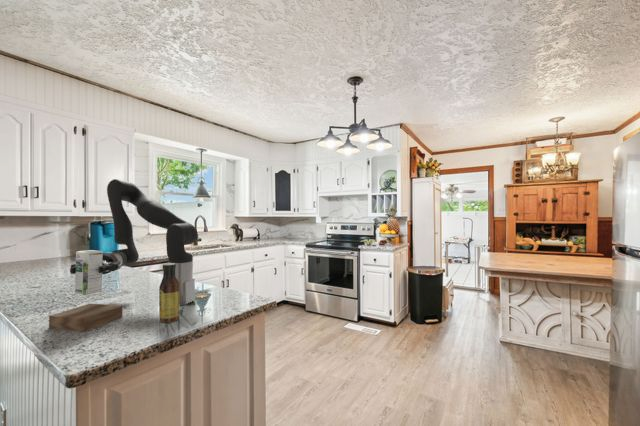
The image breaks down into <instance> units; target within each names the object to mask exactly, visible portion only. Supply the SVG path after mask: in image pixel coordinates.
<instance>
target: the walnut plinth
mask: <svg viewBox="0 0 640 426" xmlns="http://www.w3.org/2000/svg"><path fill="white" fill-rule="evenodd" d="M120 318H123V305H120V304H119V305H117V304H100V303H88V304H83V305H80V306H77V307H74V308H71V309H67V310H64V311H61V312H57V313H54V314H51V315H49V316H48V329H51V328H52V329H53V330H61V331H62V330H63V331H75V332H76V331H77V332H87V331H90V330H92V329H96V328H98V327H100V326H103V325H105V324H108V323H110V322H113V321H115V320H118V319H120Z"/></svg>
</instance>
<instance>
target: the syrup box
mask: <svg viewBox="0 0 640 426" xmlns="http://www.w3.org/2000/svg"><path fill="white" fill-rule="evenodd" d="M103 254H104V252H103V250H93V249H89V250H88V249H86V250H85V249H84V250H78V251H77V250H76V251H75V264H76V269H75V274H74V277H75V278H74V294H76V295H77V294H78V295H82V296H87V295H91V294H96V293H100V292H101V293H102V291H103V274H102V273H99V267H100V266H102V255H103Z"/></svg>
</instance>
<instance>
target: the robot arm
mask: <svg viewBox="0 0 640 426" xmlns="http://www.w3.org/2000/svg"><path fill="white" fill-rule="evenodd" d="M106 193H107V194H106V195H107V198H108V199H107V200H108V203H109V207H110V208H109V209H110V211H111V215H112V221H113V232H114V233H113V234H114V243H115V244H116V245H123V246H124V245H125V246H126V248H122V249H117V250H113V251H111V252H106V253H103V255H102V266H100V267H99V273H102V275H107V274H109V273H112V272H115V271H118V270H120V269H121V268H122V267H123V266H125V265H131V264H133V265H134V264H135V263H137V262H138V260H139V252H138V249H137V247H136V245H135V241H134V236H133V235H134V234H133V233H134V232H133V231H134V230H133V224H132V221H131V219H130V218H129V216H128V214H127V213H126V210H125V208H124V206H123V202H127V203H129V204H132V205H133V206H135V207H136V212H137V214H138V215H139V216H140V218H142V219H143V220H144V221H146V222H148V223H149V224H151V225H153V226H156V227H159V228H162V229H165V230H166V235H165V239H166V240H165V241H166V242H165V243H166V245H165V246H166V255H167V258H168V263H175V264H176V268H175V277H176V279H177V280H178V282H179V306H187V305H188V303H189V304H191V303H193V302H195V299H196V298H195V297H196V296H195V292H196V291H195V287H196V286H195V285H196V283H195V278H193V276H194V275H193V271H194V270H193V267H194V266H193V265H194V262H193V261H194V258H193V257H194V255H193V254H192V253H189V252H187V251H186V250H185V246H188V245H192V244H194V243H195V242H196V241H197V240H198V237H199V233H198V230H197V228H196V227H195V226H194V225H193V224H192V223H191V222H188V221H186V220H185V219H182V218H181V217H179V216H178V215H176V214H174V213H173V212H171V211H170V210H169V209H168V208H166V207H165V206H163V205H162V204H160V203H159V202H158V201H156V200H155V199H153V198H152V197H150V196H149V195H147V194H145V192H143V190H141V188H139V187H138V186H137V185H136V184H134V183H133V182H130V181H126V180H122V179H119V178H118V179H116V178H115V179H112V180H110V181H109V182H108V184H107V186H106ZM75 269H76V263H74V264H70V268H69V273H70V275H75ZM192 301H193V302H192ZM190 302H191V303H190ZM186 304H187V305H186Z"/></svg>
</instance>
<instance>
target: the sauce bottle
mask: <svg viewBox="0 0 640 426" xmlns="http://www.w3.org/2000/svg"><path fill="white" fill-rule="evenodd" d="M175 268H176V264H175V263H169V262H167V263H163V264H162V269H163V270H162V272H163V275H162V279H161V282H160V285H159V286H158V287H159V288H158V291H159V292H158V294H159V296H158V298H159V299H158V304H159V305H158V306H159V309H158V310H159V311H158V313H159V315H158V317H159V321H160V322H161V323H173V322H175V321H177V320H179V318H180V305H179V282H178V280H177V279H176V277H175Z"/></svg>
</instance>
